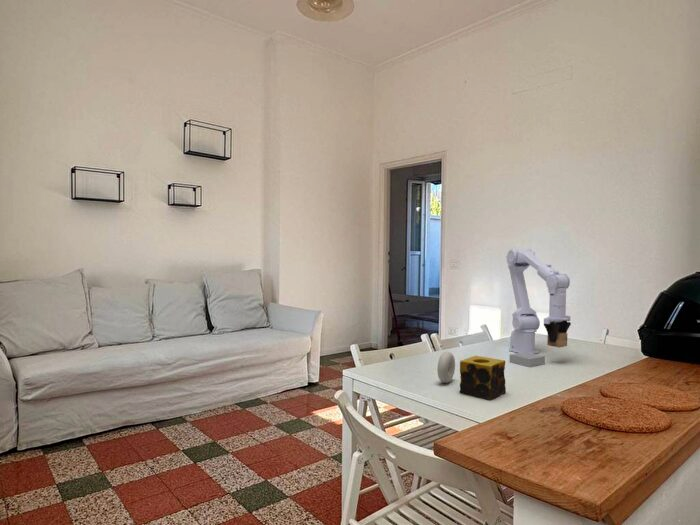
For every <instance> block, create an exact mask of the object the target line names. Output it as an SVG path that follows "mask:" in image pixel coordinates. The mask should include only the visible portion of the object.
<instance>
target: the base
mask: <svg viewBox="0 0 700 525" xmlns="http://www.w3.org/2000/svg"><path fill="white" fill-rule="evenodd" d="M545 362H546V357H545V355H541V354H538V353H535V354H532V353H527V352H520V353H517V352H514V353H511V354H509V363H511V364H516V365H519V366H523V367H528V368H533V367H538V366H542V365H545Z"/></svg>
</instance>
